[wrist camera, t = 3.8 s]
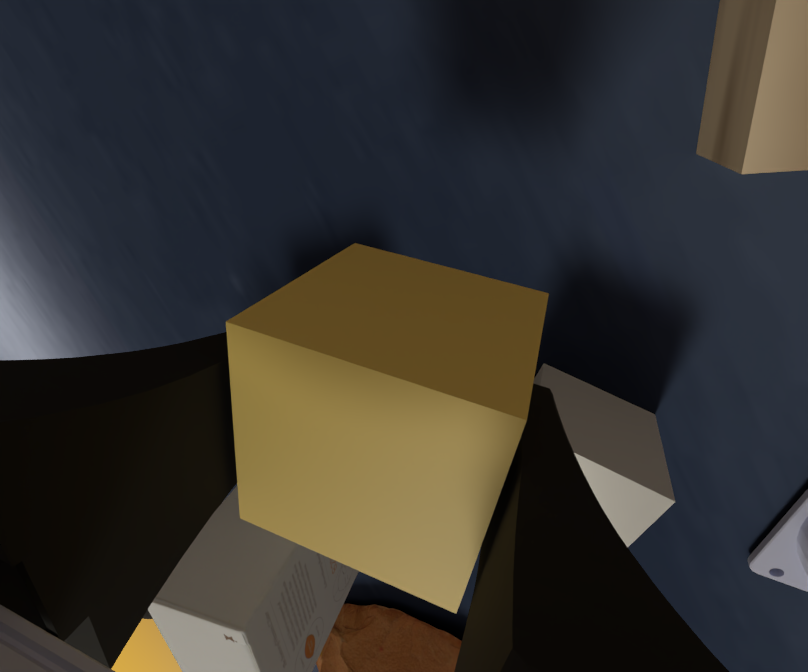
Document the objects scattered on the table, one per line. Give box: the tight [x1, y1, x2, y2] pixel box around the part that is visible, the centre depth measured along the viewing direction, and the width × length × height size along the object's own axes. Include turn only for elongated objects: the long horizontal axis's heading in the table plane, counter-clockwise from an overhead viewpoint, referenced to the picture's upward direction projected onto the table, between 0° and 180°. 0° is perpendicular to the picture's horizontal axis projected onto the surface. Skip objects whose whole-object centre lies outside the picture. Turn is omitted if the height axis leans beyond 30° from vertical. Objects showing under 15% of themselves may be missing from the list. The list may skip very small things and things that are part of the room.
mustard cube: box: [226, 243, 549, 614], centre depth 10 cm, size 5×5×5 cm
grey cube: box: [533, 363, 675, 547], centre depth 18 cm, size 5×5×5 cm
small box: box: [148, 485, 359, 672], centre depth 24 cm, size 8×6×10 cm
